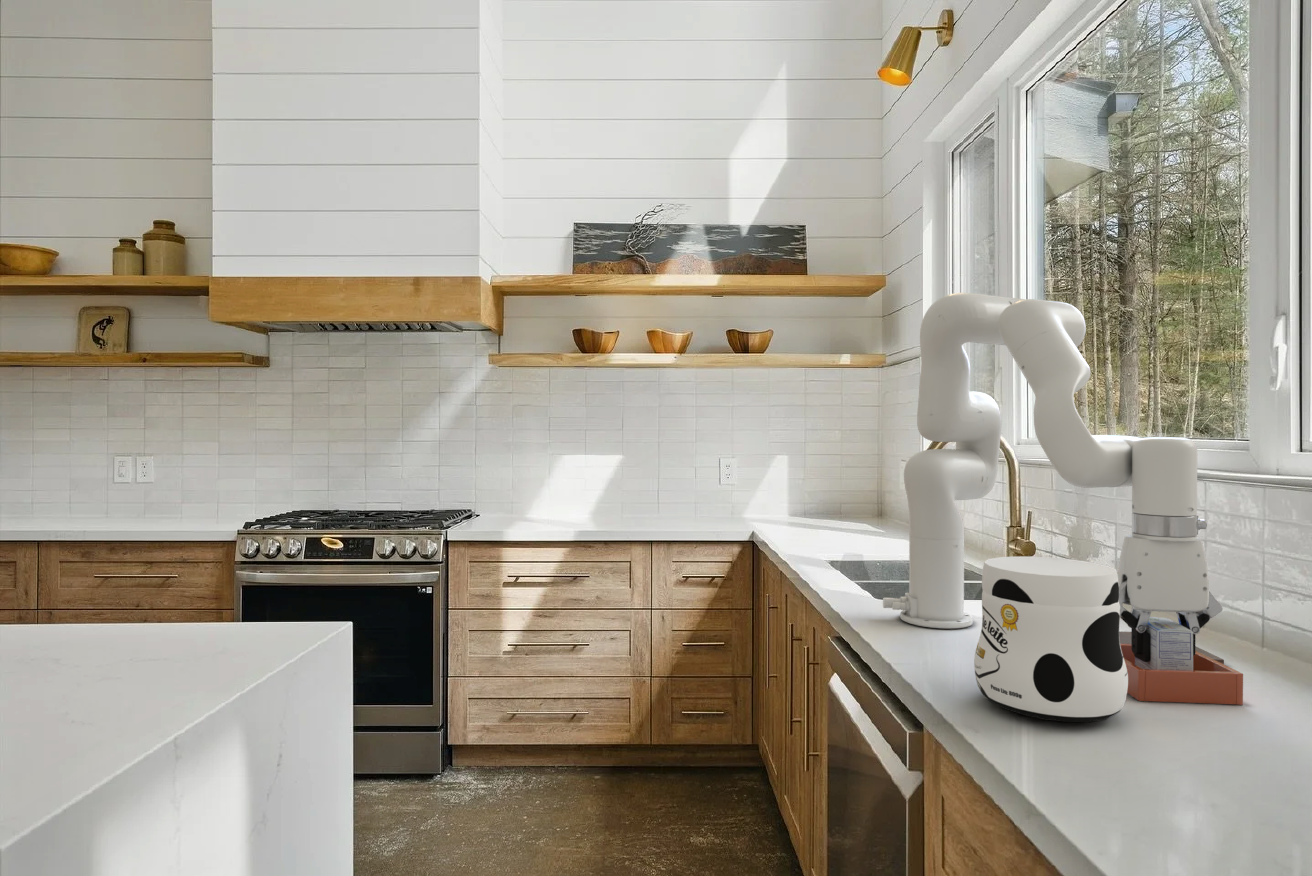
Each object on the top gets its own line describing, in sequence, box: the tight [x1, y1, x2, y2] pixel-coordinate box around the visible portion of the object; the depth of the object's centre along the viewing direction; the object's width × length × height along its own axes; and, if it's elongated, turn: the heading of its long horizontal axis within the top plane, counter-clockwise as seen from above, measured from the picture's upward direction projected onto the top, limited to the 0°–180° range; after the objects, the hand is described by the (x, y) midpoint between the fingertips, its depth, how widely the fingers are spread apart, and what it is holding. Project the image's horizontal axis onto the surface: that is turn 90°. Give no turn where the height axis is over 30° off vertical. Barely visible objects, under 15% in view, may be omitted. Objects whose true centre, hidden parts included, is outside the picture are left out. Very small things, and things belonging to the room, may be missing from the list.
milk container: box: [973, 555, 1128, 723], centre depth 100 cm, size 17×17×18 cm
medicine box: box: [1135, 616, 1193, 671], centre depth 109 cm, size 8×4×9 cm, turn 169°
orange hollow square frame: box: [1120, 644, 1244, 706], centre depth 109 cm, size 13×14×4 cm
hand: (1162, 658), depth 109 cm, fingers closed on medicine box, 4 cm apart
